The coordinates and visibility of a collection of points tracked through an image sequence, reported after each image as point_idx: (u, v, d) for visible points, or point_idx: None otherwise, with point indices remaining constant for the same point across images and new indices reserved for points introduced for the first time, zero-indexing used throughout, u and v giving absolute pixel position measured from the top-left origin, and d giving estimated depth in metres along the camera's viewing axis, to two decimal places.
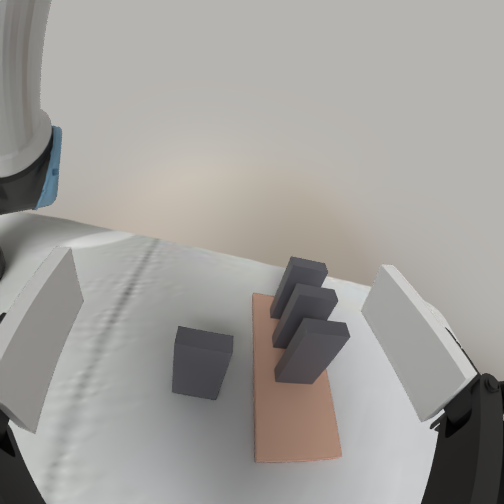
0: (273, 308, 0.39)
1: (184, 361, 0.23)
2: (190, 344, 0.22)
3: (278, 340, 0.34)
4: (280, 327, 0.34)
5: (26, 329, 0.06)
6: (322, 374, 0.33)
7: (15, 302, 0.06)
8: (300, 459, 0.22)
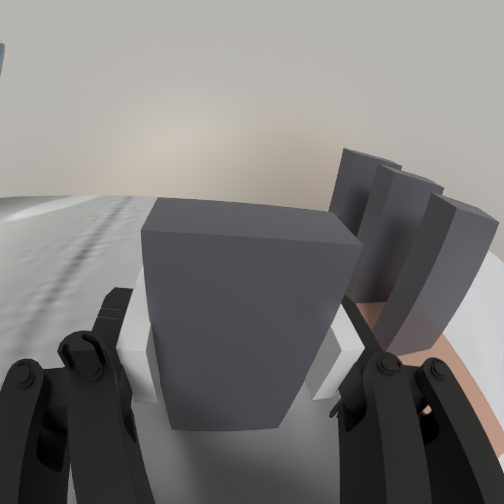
0: None
1: (187, 324, 0.07)
2: (205, 230, 0.06)
3: (358, 286, 0.18)
4: (360, 258, 0.18)
5: None
6: None
7: (139, 274, 0.08)
8: None
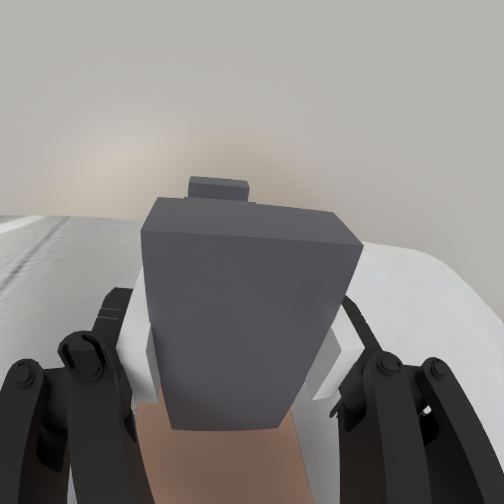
0: None
1: (187, 324, 0.07)
2: (205, 230, 0.06)
3: None
4: None
5: None
6: None
7: (139, 274, 0.08)
8: None
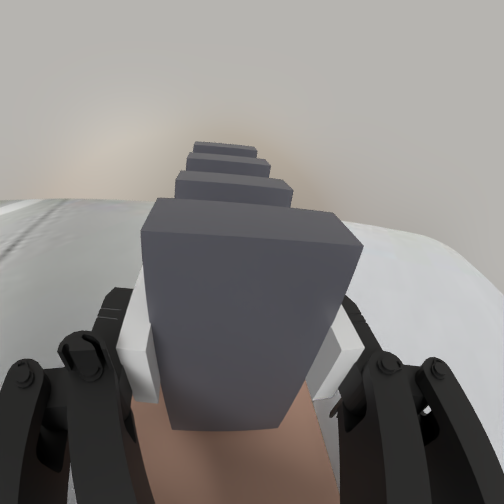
0: None
1: (187, 324, 0.07)
2: (205, 231, 0.06)
3: None
4: None
5: None
6: None
7: (139, 274, 0.08)
8: None
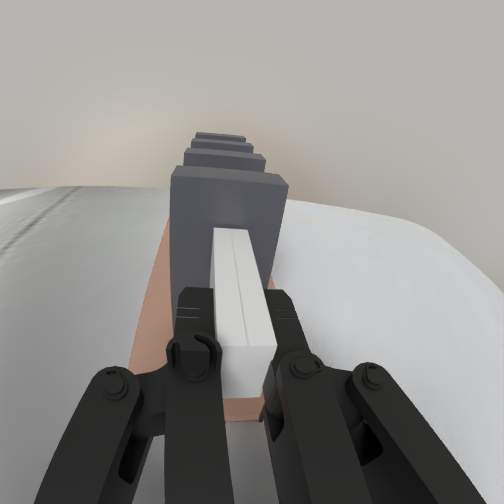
0: None
1: (191, 233, 0.12)
2: (203, 176, 0.11)
3: None
4: None
5: None
6: None
7: (214, 273, 0.09)
8: None
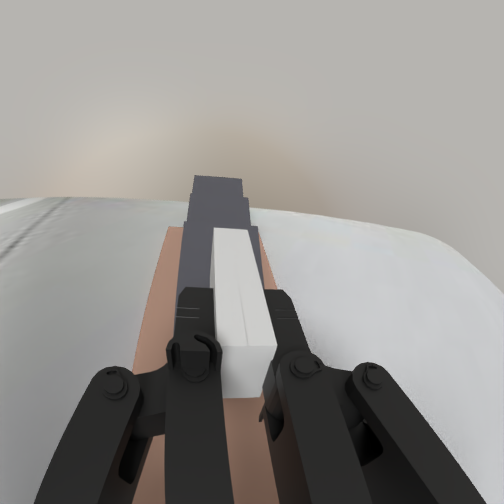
0: None
1: (196, 252, 0.17)
2: (204, 224, 0.18)
3: None
4: None
5: None
6: None
7: (214, 273, 0.09)
8: None
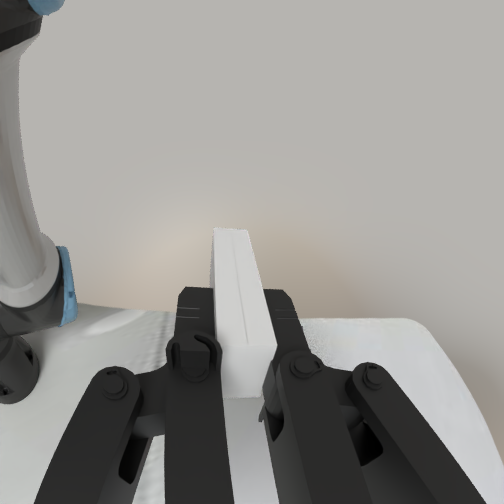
0: None
1: None
2: None
3: None
4: None
5: None
6: None
7: (214, 273, 0.09)
8: None
